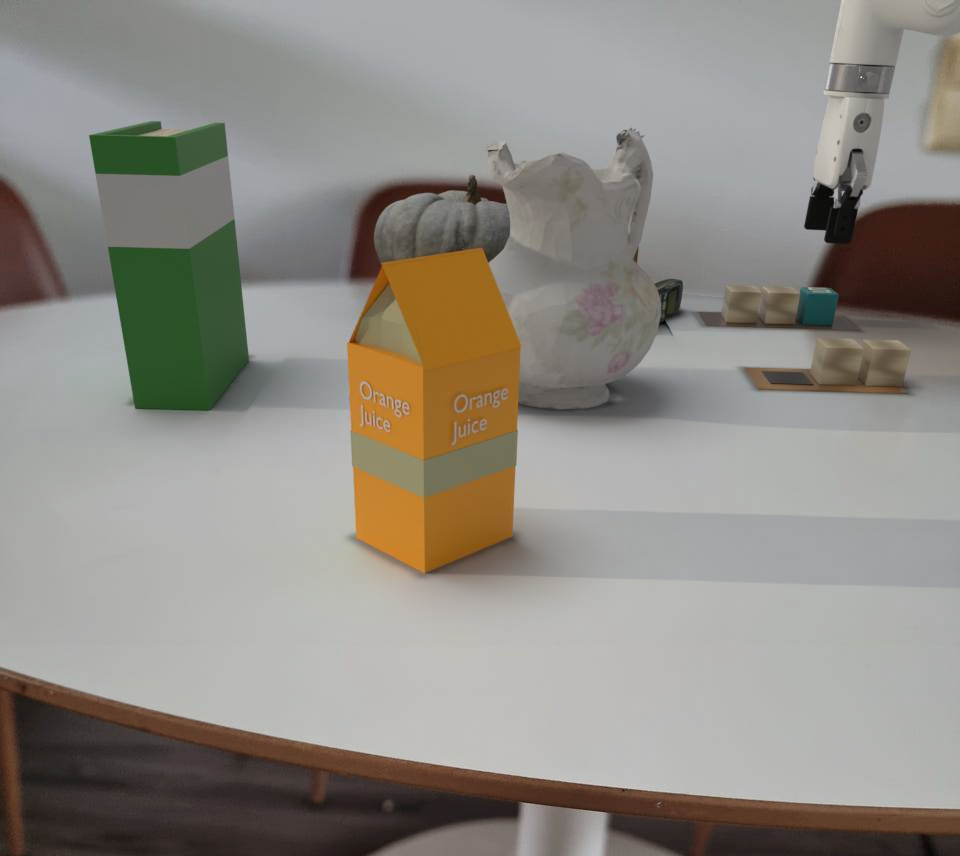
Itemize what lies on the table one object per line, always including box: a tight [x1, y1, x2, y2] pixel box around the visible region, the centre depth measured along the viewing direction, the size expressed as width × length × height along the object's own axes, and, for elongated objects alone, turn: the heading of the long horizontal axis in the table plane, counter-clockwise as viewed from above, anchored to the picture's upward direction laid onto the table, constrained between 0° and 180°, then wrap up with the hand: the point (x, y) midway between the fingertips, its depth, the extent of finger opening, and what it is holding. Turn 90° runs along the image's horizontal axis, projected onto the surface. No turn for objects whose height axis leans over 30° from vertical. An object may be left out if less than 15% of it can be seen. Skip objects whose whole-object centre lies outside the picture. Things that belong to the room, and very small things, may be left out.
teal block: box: [796, 286, 840, 326], centre depth 129 cm, size 4×4×4 cm
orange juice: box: [346, 248, 522, 574], centre depth 66 cm, size 8×9×20 cm
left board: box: [696, 284, 860, 332], centre depth 130 cm, size 20×8×5 cm, turn 88°
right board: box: [742, 337, 912, 395], centre depth 107 cm, size 16×8×5 cm, turn 88°
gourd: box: [373, 174, 510, 267], centre depth 132 cm, size 25×25×17 cm
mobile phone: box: [654, 278, 684, 325], centre depth 130 cm, size 5×3×15 cm
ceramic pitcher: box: [484, 127, 661, 410], centre depth 97 cm, size 22×20×25 cm
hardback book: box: [88, 120, 250, 411], centre depth 97 cm, size 18×7×24 cm, turn 179°
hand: (826, 236), depth 125 cm, fingers open, 9 cm apart
